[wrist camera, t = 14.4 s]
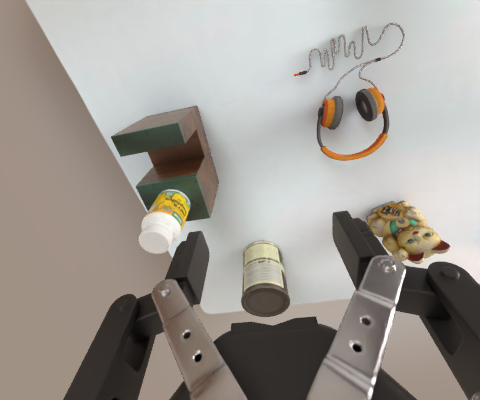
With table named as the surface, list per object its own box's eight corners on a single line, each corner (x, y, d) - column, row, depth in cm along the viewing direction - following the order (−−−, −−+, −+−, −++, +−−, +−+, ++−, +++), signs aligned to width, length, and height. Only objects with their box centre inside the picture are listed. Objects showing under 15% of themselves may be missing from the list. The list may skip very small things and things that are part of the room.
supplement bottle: (151, 202, 37) (124, 243, 29) (169, 181, 35) (145, 218, 27) (179, 221, 39) (160, 263, 31) (197, 201, 37) (183, 242, 29)
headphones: (415, 5, 31) (415, 150, 37) (394, 21, 36) (397, 147, 42) (291, 42, 34) (310, 172, 40) (288, 52, 39) (304, 166, 45)
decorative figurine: (402, 190, 49) (455, 236, 36) (414, 215, 52) (467, 265, 40) (358, 212, 53) (394, 262, 40) (373, 234, 56) (409, 287, 43)
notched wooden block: (146, 116, 43) (110, 136, 32) (197, 105, 42) (178, 122, 30) (175, 189, 51) (155, 226, 40) (218, 182, 50) (210, 218, 39)
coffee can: (289, 256, 61) (299, 305, 49) (259, 273, 64) (262, 322, 52) (265, 233, 57) (269, 280, 45) (234, 253, 61) (231, 301, 49)
